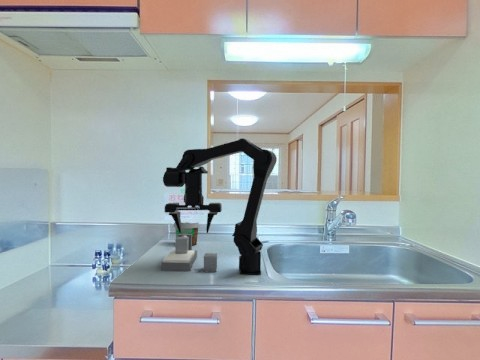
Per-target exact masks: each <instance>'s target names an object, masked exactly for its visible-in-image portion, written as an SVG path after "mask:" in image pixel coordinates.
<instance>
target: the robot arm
mask: <svg viewBox="0 0 480 360" xmlns="http://www.w3.org/2000/svg"><path fill="white" fill-rule="evenodd" d="M239 153H243V154H245V155H246V156H247V157H249V158H251V159H252V160H253V167H252V168H253V170H252V171H253V180H252V183H251V187H250V191H249V195H248V199H247V202H246V205H245V207H246V208H245V210H244V214H243V218H242V220H241V221H239V222H236V223H235V225H234V230H233V231H234V232H233V233H232V235H231V236H232V237H233V244H235V246H236V247H237V251H238V253H239V256H238V271H239V272H240V273H239V274H241V275H261V274H262V271H261V269H262V268H261V264H262V263H261V259H262V254H261V251H262V249H263V246H264V244H263V243H262V242H261V240H259V238H258V237H257V235H258V223H257V222H258V215H259V213H260V209H261V204H262V201H263V197H264V194H265V189H266V187H267V186H266V185H267V181H268V180H269V177H270V176H271V174H272V172H273V170H274V168H275V166H276V164H277V160H278V159H277V156H276V154H275V152H273V151H271V150H268V149H266V148H265V149H263V148H262V147H259V146H258V145H256V144H254V143H253V142H251V141H250V140H249V139H246V138H239V139H238V140H237V139H236V140H234V141H231V142H227V143H226V142H225V143H221V144H220V145H219V144H218V145H216V146H212V147H207V148H194V149H187V150H185V151H183V154H182V158H181V159H180V161H179V162H178V163H177V166H176V167H170V166H169V167H166V169H165V170H166V171H165V172H164V174H163V177H162V182H163V185H164V186H165V187H166V188H182V187H184V194H183V202H184V204H180V202H168V203H166V204H165V205H164V213H167V214H168V215H169V216H171V217H172V219H173V221H174V223H176V225H177V228H178V230H179V233H181V223H182V221H181V211H208V213H207V216H206V217H207V220H206V228H205V229H206V234H208V233H209V230H210V227H211V224H212V221H213V219H214V216H217V215H218V213H221V212H222V210H223V207H222V203H221V202H210V203H209V204H204V201H205V199H204V195H203V174H204V175H205V174H208V173H209V172H208V171H207V169H205V167H204V165H207V164H208V163H210V162H211V161H213V160H216V159H221V158H224V157H228V156H231V155H232V156H233V155H236V154H239Z"/></svg>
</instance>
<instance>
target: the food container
mask: <svg viewBox="0 0 480 360" xmlns="http://www.w3.org/2000/svg"><path fill="white" fill-rule="evenodd" d="M173 227H174V228H175V239H176V238H177V237H178V234H192V247H195V245H196V246H197V244H198V243H197V242H198V234H199V232H198V231H199V228H200V223H199V222H187V221H186V222H181V233H179V230H178V228H177V225H176V223H175V222H174V224H173Z"/></svg>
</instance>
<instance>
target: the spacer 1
mask: <svg viewBox="0 0 480 360" xmlns="http://www.w3.org/2000/svg"><path fill="white" fill-rule="evenodd" d="M174 240H175V241H174V243H175V248H174V250H175V253H176V254H187V253H188V251H189V237H177V238H176V237H175V239H174Z"/></svg>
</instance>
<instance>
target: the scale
mask: <svg viewBox="0 0 480 360" xmlns="http://www.w3.org/2000/svg"><path fill="white" fill-rule="evenodd" d="M178 237H189V251H188V253H187V254H176V253H175V249H172V250H171V251H169V252H168V254H167V255H166V256H165V257H164V258H163V260H162V261H161V271H177V272H179V271H181V272H183V271H184V272H185V271H186V272H189V271H191V269H192V267H193V265H194V263H195V261H196V260H197V258H198V250H196V249H193V246H192V234H178Z"/></svg>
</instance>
